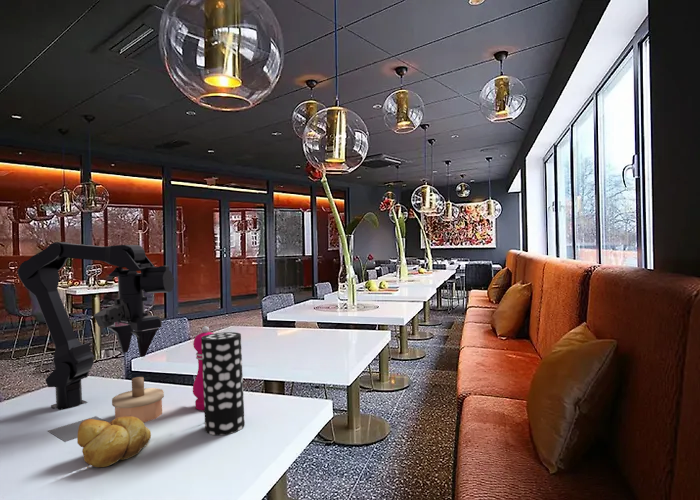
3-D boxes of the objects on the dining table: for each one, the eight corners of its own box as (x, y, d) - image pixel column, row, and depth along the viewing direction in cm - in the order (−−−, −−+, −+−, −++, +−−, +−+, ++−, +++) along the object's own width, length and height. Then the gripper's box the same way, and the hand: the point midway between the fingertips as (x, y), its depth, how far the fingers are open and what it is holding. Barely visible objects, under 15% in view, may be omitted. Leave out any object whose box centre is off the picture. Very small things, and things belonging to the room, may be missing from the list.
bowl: (108, 420, 105) (107, 402, 105) (149, 407, 112) (148, 390, 112) (128, 430, 99) (127, 410, 99) (170, 415, 106) (169, 397, 106)
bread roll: (141, 438, 94) (140, 400, 94) (164, 450, 88) (163, 409, 88) (73, 462, 84) (71, 419, 84) (93, 477, 78) (91, 432, 78)
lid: (103, 402, 105) (102, 380, 105) (149, 389, 113) (148, 369, 113) (125, 411, 98) (124, 388, 98) (172, 397, 106) (171, 376, 106)
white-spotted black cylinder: (252, 422, 100) (248, 333, 100) (227, 437, 93) (223, 340, 92) (223, 418, 104) (219, 331, 103) (196, 432, 96) (192, 338, 96)
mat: (47, 433, 99) (47, 430, 99) (96, 418, 106) (95, 416, 106) (65, 444, 92) (65, 441, 92) (115, 427, 100) (115, 425, 100)
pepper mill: (214, 411, 108) (211, 328, 108) (187, 410, 109) (184, 328, 109) (228, 401, 115) (225, 323, 115) (203, 400, 116) (199, 323, 116)
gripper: (81, 295, 114) (84, 357, 114) (115, 298, 103) (118, 366, 103) (126, 291, 123) (128, 348, 123) (161, 293, 111) (164, 356, 111)
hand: (133, 354), depth 115 cm, fingers open, 9 cm apart
